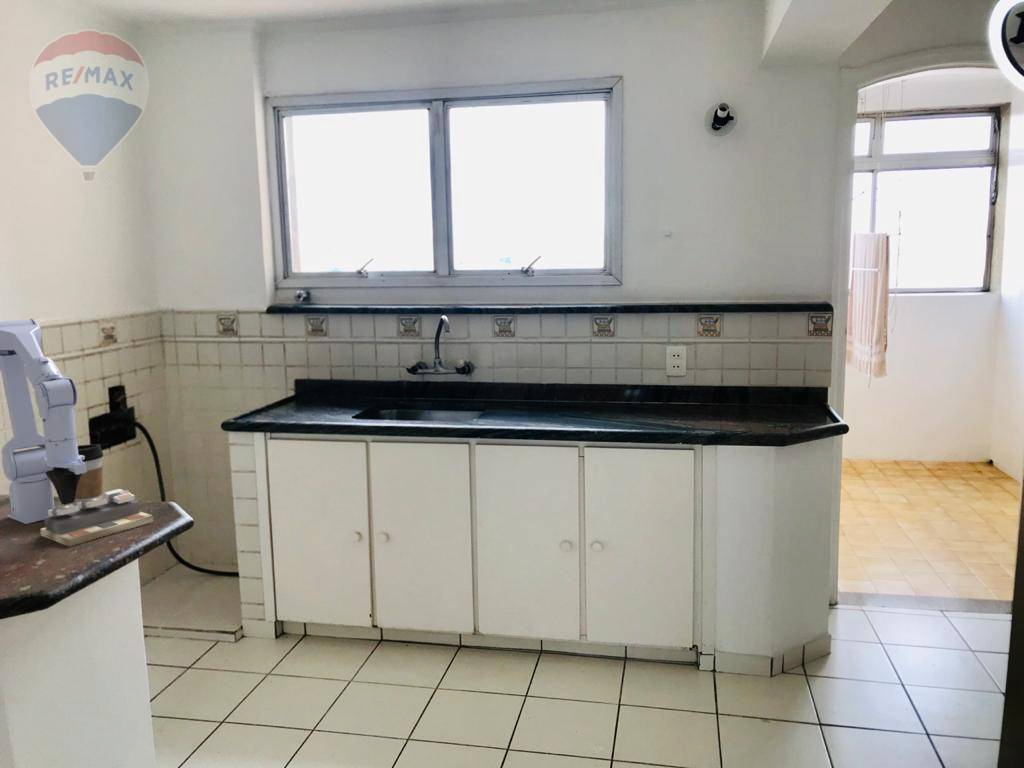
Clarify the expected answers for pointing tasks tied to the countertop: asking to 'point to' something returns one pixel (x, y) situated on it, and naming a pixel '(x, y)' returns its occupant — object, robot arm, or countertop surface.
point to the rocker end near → (63, 510)
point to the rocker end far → (119, 496)
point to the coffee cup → (90, 474)
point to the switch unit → (94, 522)
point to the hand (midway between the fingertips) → (67, 503)
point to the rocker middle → (92, 503)
